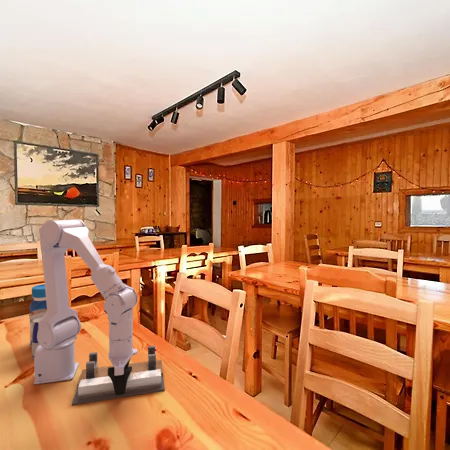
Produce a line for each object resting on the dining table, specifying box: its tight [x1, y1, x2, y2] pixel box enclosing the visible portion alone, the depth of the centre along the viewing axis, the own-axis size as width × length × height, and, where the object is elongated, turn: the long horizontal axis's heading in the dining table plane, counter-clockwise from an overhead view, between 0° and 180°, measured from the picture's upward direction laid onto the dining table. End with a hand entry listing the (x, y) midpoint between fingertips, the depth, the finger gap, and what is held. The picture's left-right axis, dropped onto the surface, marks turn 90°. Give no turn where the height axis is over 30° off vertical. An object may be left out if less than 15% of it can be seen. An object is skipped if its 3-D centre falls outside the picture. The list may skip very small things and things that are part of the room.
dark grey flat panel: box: [71, 375, 166, 406], centre depth 74 cm, size 22×6×1 cm, turn 106°
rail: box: [78, 369, 161, 399], centre depth 74 cm, size 20×3×3 cm, turn 106°
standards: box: [76, 345, 164, 389], centre depth 81 cm, size 22×7×6 cm, turn 106°
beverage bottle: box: [28, 283, 47, 348], centre depth 97 cm, size 8×8×20 cm
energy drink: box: [31, 316, 43, 360], centre depth 90 cm, size 5×5×12 cm
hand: (121, 386), depth 74 cm, fingers open, 6 cm apart
